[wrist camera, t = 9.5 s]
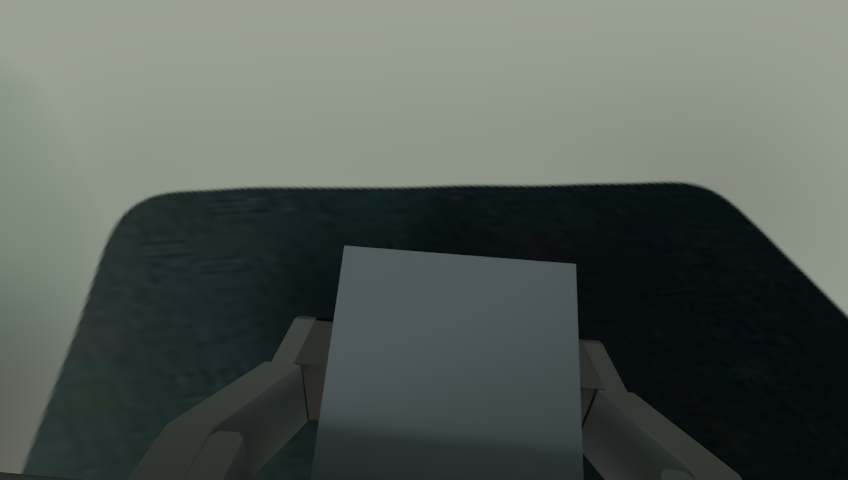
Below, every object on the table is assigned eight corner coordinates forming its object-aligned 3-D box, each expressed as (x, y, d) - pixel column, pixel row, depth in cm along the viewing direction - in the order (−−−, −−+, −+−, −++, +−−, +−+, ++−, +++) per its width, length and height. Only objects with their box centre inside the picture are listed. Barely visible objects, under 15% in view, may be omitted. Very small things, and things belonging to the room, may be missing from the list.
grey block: (498, 442, 13) (585, 538, 6) (365, 430, 13) (305, 513, 6) (501, 307, 14) (575, 264, 8) (380, 297, 15) (344, 245, 8)
